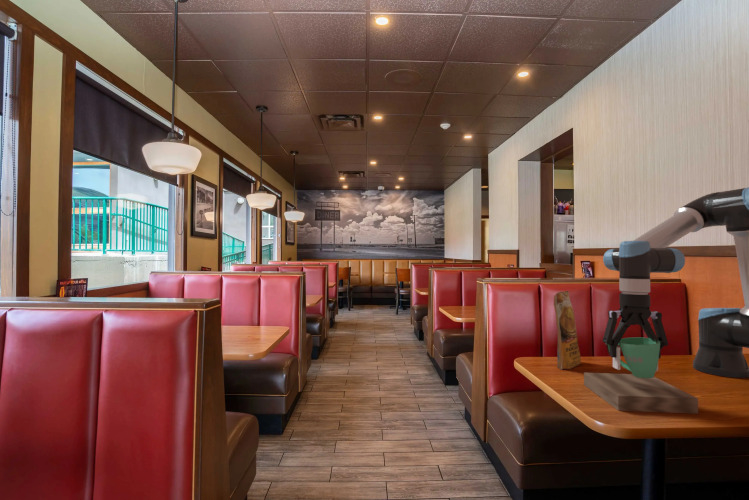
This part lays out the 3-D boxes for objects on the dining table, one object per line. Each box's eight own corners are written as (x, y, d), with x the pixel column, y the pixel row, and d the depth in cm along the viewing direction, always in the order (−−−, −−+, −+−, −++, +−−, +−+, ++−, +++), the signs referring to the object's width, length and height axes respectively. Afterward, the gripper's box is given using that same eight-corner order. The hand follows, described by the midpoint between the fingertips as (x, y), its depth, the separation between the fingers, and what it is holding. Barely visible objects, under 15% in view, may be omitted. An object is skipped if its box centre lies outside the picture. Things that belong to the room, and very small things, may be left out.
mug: (672, 375, 105) (667, 340, 106) (652, 383, 101) (647, 346, 101) (619, 365, 118) (615, 334, 119) (599, 372, 114) (595, 339, 115)
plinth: (649, 387, 119) (649, 374, 119) (698, 413, 99) (698, 398, 99) (584, 385, 120) (583, 372, 121) (618, 410, 101) (618, 395, 101)
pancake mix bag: (547, 367, 139) (547, 292, 140) (567, 358, 152) (567, 289, 152) (566, 372, 134) (565, 294, 135) (585, 362, 147) (585, 290, 147)
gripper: (666, 292, 113) (666, 366, 112) (588, 291, 115) (589, 364, 114) (684, 294, 105) (684, 374, 105) (601, 293, 107) (601, 371, 107)
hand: (635, 368), depth 110 cm, fingers closed on mug, 10 cm apart
